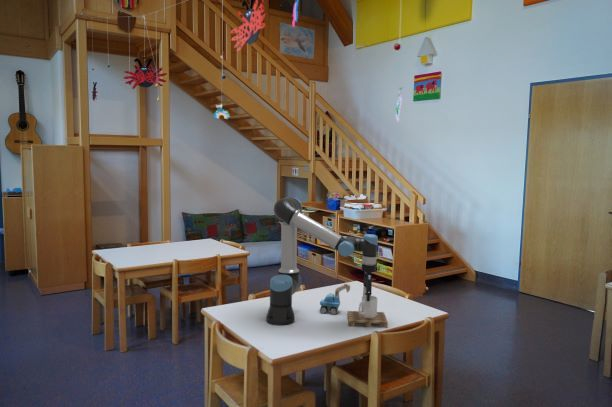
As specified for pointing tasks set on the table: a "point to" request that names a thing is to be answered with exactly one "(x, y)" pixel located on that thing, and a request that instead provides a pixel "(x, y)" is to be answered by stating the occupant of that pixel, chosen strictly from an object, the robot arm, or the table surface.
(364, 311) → the cup
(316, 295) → the table surface
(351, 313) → the wooden pallet
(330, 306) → the toy excavator
